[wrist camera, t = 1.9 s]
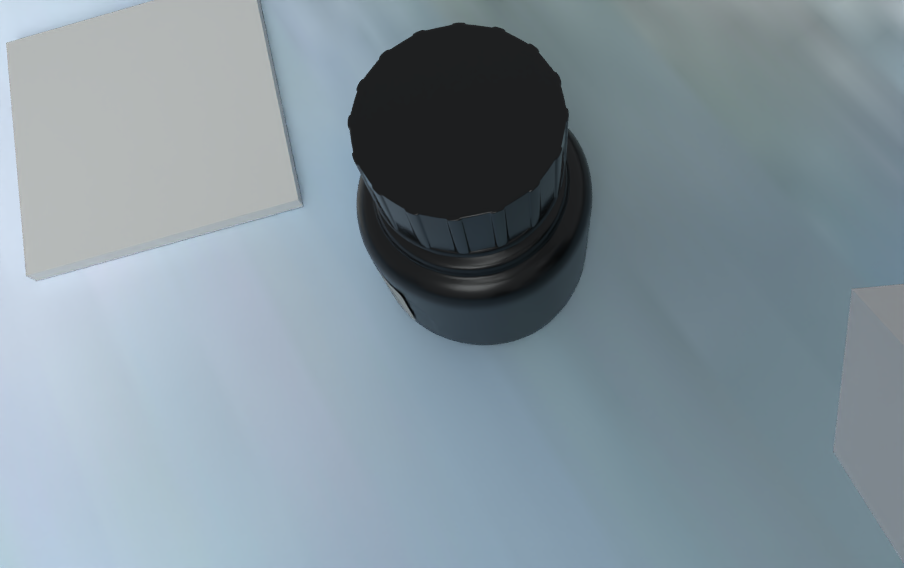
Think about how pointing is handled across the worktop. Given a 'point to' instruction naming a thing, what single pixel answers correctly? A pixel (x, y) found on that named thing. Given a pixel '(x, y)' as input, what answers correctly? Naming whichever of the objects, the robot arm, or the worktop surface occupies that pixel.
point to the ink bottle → (471, 183)
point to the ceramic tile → (146, 131)
